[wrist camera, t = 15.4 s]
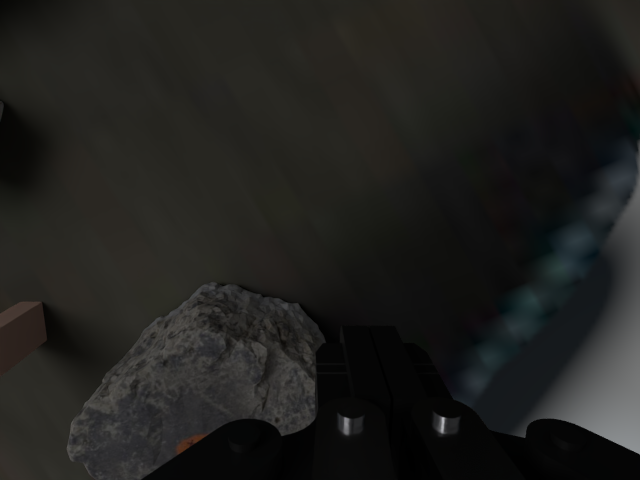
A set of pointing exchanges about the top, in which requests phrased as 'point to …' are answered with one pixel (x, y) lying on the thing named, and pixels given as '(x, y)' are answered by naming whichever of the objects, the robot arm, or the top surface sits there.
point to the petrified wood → (199, 381)
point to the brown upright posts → (20, 333)
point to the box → (1, 109)
